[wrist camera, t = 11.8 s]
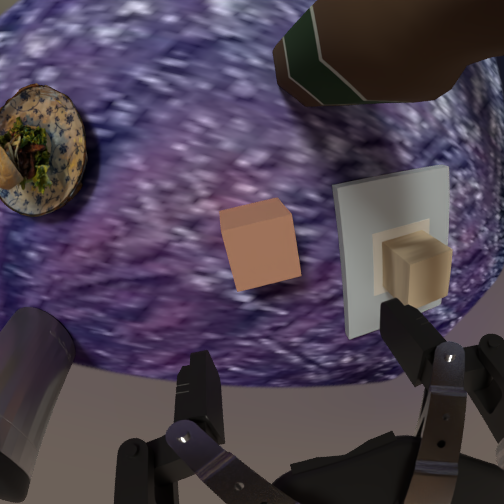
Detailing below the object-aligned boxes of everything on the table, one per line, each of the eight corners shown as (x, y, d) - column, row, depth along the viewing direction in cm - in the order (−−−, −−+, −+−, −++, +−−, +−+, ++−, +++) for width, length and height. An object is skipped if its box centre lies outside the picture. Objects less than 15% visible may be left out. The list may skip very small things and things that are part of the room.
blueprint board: (345, 332, 33) (349, 340, 31) (331, 185, 25) (337, 188, 24) (435, 299, 33) (440, 304, 32) (441, 164, 26) (449, 166, 25)
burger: (108, 192, 23) (72, 219, 17) (13, 225, 23) (-29, 256, 16) (81, 64, 18) (38, 48, 12) (-13, 115, 18) (-62, 121, 11)
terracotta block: (232, 263, 27) (237, 291, 23) (219, 210, 25) (221, 231, 21) (286, 249, 28) (301, 275, 23) (277, 197, 25) (291, 214, 21)
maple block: (382, 285, 29) (407, 312, 24) (381, 241, 27) (410, 264, 22) (420, 272, 29) (447, 295, 25) (422, 229, 27) (452, 249, 22)
